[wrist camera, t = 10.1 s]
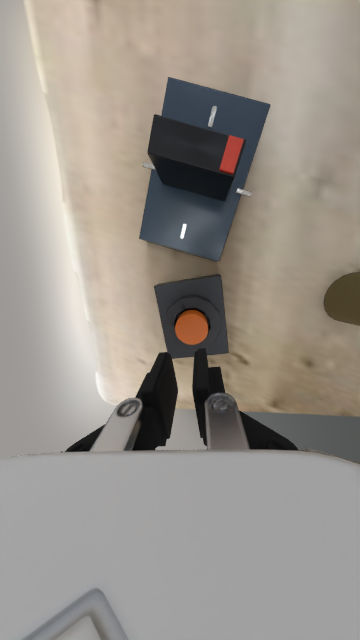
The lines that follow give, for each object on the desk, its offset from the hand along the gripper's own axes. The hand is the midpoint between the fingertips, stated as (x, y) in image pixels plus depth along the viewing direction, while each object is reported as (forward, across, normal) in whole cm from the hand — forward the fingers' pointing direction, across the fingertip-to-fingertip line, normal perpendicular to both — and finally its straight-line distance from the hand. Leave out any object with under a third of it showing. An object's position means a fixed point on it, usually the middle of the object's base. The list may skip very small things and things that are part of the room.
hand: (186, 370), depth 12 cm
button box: (+13, 0, 0) cm, 13 cm away
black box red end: (+10, -2, -14) cm, 18 cm away
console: (+13, -2, -14) cm, 20 cm away
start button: (+10, 0, 0) cm, 10 cm away
